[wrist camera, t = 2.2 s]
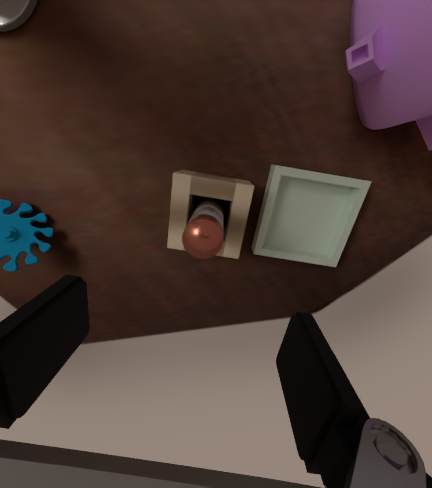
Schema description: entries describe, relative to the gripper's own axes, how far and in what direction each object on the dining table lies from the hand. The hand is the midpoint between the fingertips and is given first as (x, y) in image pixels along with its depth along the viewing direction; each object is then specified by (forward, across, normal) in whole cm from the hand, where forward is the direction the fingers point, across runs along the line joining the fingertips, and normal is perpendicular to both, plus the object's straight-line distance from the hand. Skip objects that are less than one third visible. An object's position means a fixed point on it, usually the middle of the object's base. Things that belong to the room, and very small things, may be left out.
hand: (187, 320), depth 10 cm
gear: (+23, +28, +7) cm, 37 cm away
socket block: (+23, 0, 0) cm, 23 cm away
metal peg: (+23, 0, 0) cm, 23 cm away
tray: (+23, -12, -1) cm, 26 cm away
